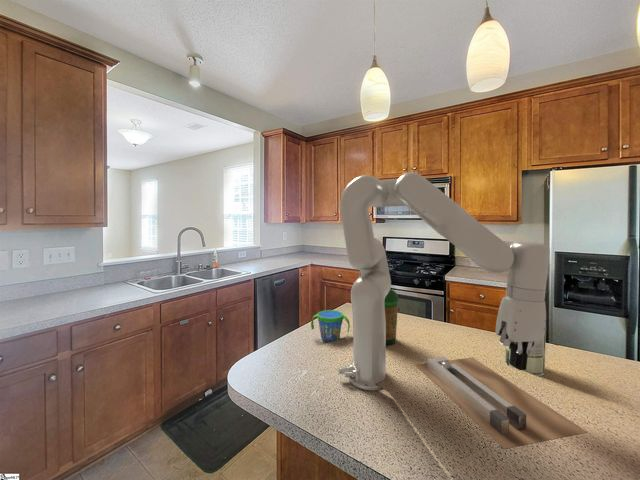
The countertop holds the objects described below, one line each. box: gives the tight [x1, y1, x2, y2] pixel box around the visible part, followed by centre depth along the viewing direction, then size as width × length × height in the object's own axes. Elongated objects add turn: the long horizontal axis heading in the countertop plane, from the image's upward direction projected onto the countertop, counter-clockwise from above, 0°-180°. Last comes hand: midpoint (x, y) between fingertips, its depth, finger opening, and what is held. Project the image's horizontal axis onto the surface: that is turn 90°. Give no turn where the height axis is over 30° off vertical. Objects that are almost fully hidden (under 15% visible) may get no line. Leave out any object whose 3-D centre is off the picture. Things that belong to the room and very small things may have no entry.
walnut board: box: [415, 357, 588, 450], centre depth 75 cm, size 21×34×2 cm, turn 11°
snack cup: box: [310, 309, 351, 342], centre depth 114 cm, size 16×10×10 cm
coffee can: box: [504, 327, 548, 377], centre depth 89 cm, size 10×10×14 cm
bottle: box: [384, 276, 399, 347], centre depth 107 cm, size 11×11×28 cm
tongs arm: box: [441, 361, 526, 430], centre depth 73 cm, size 25×4×3 cm, turn 12°
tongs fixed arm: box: [427, 356, 509, 434], centre depth 74 cm, size 28×6×3 cm, turn 11°
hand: (517, 366), depth 69 cm, fingers closed
